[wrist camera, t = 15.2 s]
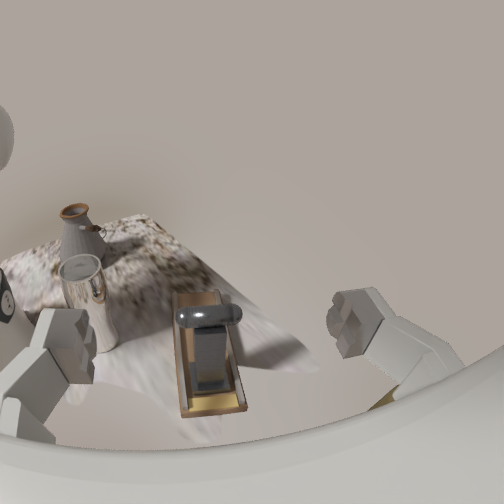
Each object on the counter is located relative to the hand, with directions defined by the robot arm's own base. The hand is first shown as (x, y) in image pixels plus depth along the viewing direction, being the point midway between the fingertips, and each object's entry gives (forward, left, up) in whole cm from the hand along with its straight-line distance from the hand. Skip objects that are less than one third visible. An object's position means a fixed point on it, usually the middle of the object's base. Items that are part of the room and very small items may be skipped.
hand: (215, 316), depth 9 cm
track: (+2, +23, -32) cm, 39 cm away
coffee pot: (-20, +45, -32) cm, 59 cm away
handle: (+2, +20, -30) cm, 36 cm away
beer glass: (-15, +26, -32) cm, 44 cm away
